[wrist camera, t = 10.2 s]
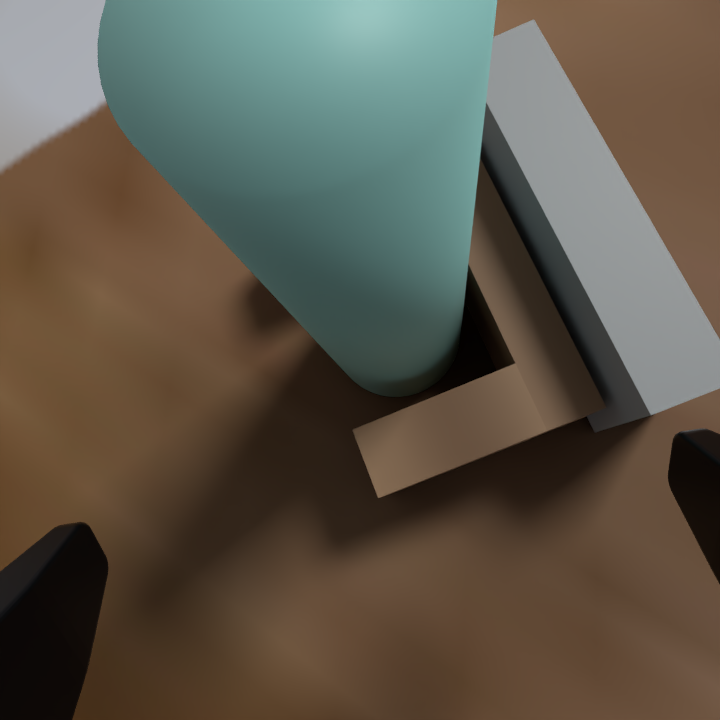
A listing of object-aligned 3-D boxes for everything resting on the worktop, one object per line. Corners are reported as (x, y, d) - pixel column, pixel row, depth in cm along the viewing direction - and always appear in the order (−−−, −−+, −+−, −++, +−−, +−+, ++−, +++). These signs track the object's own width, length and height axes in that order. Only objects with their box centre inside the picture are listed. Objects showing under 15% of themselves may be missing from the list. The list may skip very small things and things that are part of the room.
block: (389, 494, 16) (377, 498, 14) (290, 238, 19) (263, 194, 16) (577, 420, 16) (606, 407, 13) (453, 168, 18) (456, 109, 15)
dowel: (487, 325, 17) (588, -44, 5) (402, 423, 17) (296, 283, 5) (389, 250, 18) (280, -209, 6) (308, 342, 18) (24, 56, 6)
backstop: (594, 432, 16) (651, 415, 12) (456, 152, 18) (460, 51, 14) (660, 406, 16) (742, 379, 12) (512, 128, 18) (533, 19, 14)
